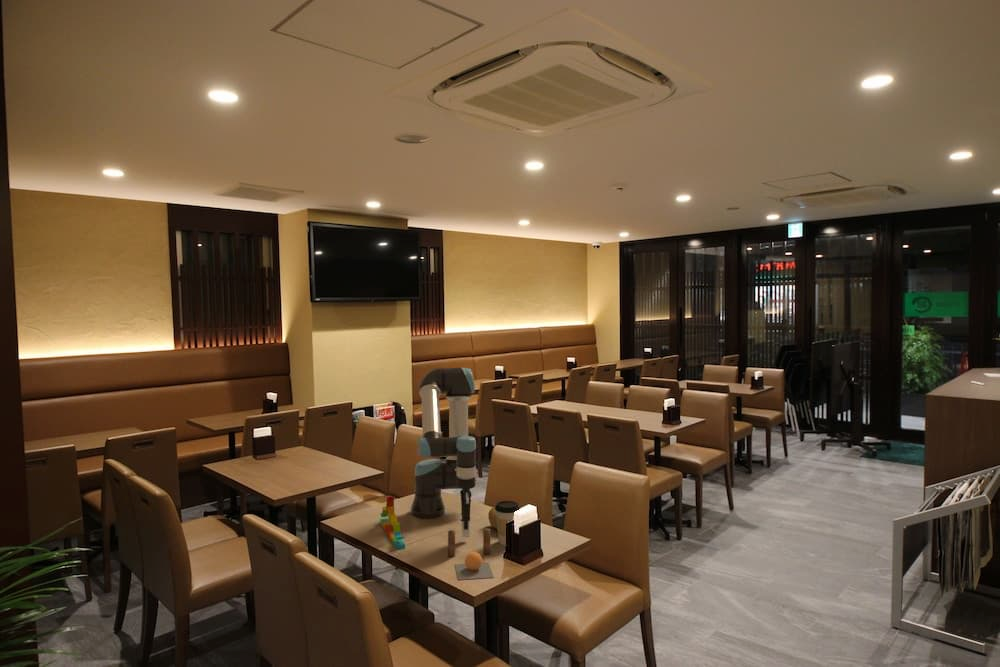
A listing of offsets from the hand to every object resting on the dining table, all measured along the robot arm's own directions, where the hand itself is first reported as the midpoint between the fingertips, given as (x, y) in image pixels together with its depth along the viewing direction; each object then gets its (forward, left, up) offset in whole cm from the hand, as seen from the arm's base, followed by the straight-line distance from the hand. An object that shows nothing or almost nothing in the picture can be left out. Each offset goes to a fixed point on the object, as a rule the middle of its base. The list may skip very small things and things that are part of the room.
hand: (465, 536), depth 229 cm
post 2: (+13, +6, -2) cm, 15 cm away
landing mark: (+27, 0, -2) cm, 27 cm away
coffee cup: (+3, +16, -2) cm, 16 cm away
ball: (+26, 0, +1) cm, 26 cm away
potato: (-11, +16, -2) cm, 20 cm away
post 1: (+13, -6, -2) cm, 15 cm away
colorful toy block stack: (-11, -28, -3) cm, 30 cm away
